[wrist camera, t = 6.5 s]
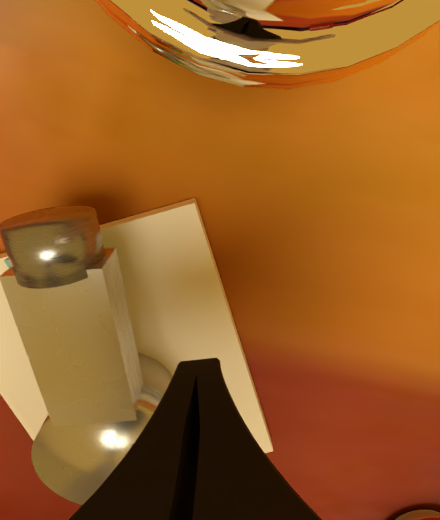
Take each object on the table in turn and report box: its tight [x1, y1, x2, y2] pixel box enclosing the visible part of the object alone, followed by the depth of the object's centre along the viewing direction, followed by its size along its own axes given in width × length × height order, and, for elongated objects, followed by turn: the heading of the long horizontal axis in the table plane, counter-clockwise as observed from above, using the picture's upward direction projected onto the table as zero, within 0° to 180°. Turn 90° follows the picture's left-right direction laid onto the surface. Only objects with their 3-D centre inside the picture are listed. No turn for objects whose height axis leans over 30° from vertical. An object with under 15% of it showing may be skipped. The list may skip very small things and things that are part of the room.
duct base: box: [0, 198, 273, 453], centre depth 19 cm, size 14×17×3 cm
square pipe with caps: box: [0, 205, 164, 505], centre depth 15 cm, size 15×7×3 cm, turn 4°
